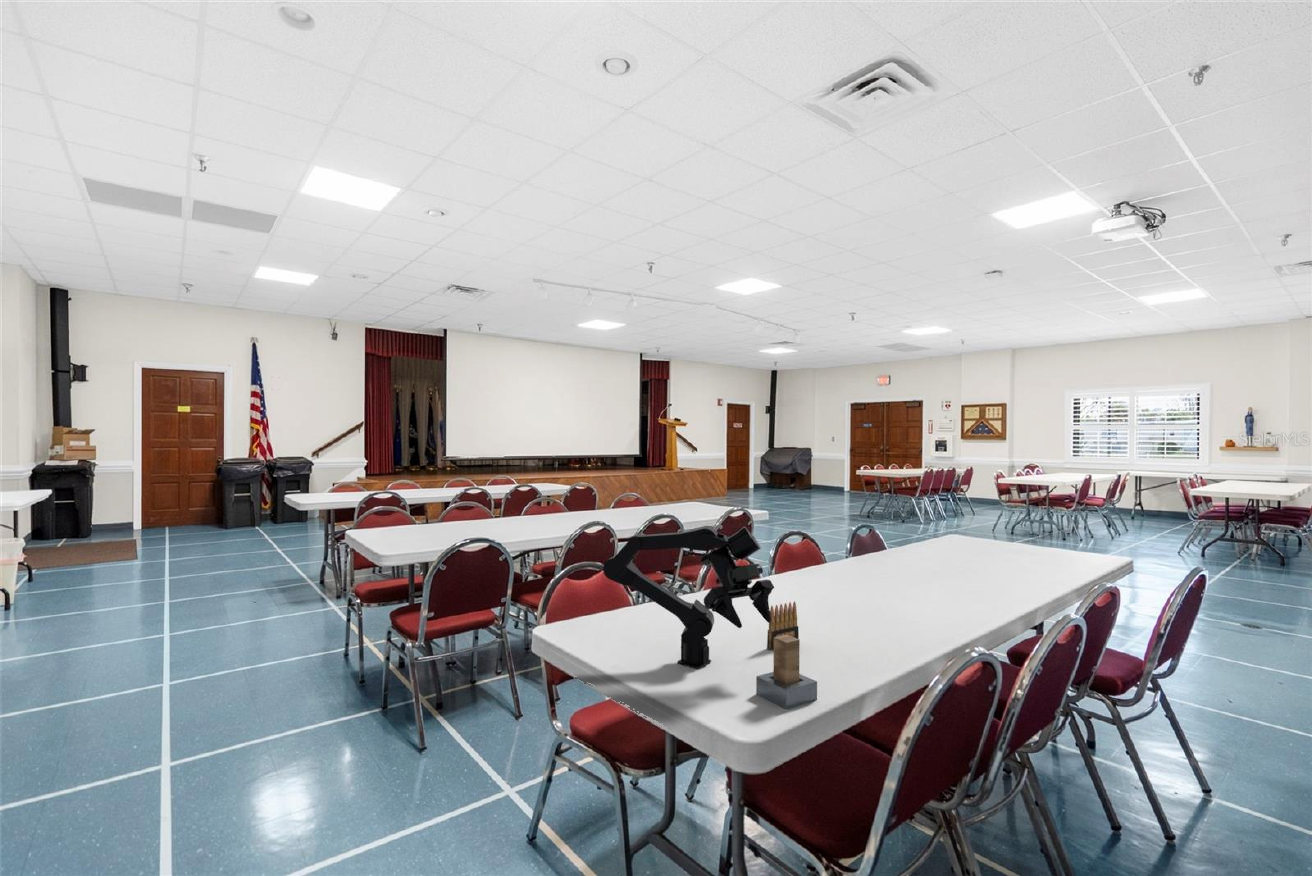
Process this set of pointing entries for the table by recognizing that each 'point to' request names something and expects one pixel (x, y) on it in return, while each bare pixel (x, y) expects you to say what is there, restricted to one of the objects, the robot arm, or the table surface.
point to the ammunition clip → (782, 623)
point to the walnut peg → (786, 659)
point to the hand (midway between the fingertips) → (755, 624)
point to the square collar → (786, 690)
